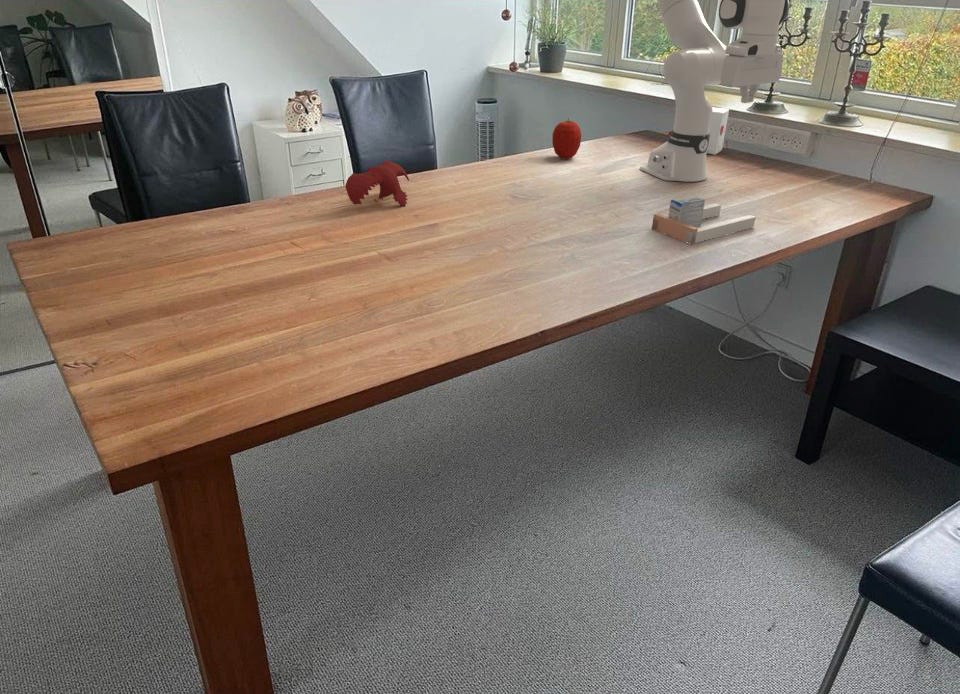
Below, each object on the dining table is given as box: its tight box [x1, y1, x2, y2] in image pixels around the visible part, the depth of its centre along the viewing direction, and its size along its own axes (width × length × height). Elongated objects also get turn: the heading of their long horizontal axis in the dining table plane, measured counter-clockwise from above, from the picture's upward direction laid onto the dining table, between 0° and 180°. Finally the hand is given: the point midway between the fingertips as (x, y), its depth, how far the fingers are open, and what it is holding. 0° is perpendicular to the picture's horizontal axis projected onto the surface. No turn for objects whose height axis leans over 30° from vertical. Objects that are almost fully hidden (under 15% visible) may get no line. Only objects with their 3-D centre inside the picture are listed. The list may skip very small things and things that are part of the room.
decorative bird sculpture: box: [345, 160, 410, 207], centre depth 199 cm, size 28×9×15 cm
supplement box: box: [706, 106, 730, 155], centre depth 257 cm, size 9×9×15 cm
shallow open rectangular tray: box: [651, 202, 756, 245], centre depth 185 cm, size 14×24×4 cm, turn 123°
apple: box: [552, 117, 582, 160], centre depth 245 cm, size 10×10×14 cm
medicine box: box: [667, 195, 706, 228], centre depth 181 cm, size 8×4×9 cm, turn 119°
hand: (746, 102), depth 187 cm, fingers closed
